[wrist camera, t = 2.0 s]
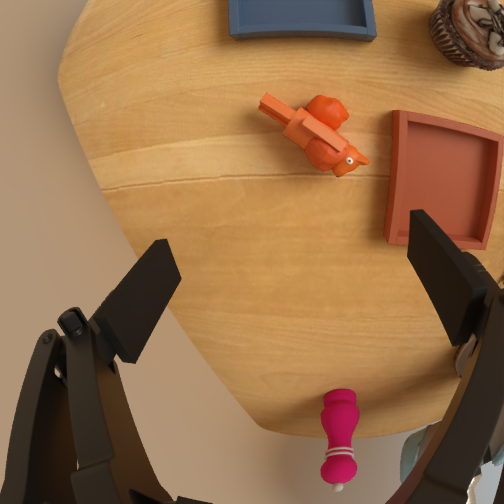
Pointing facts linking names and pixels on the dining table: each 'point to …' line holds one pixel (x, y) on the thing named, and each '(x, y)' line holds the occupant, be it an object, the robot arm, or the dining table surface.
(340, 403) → the pepper mill
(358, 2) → the blue tray
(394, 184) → the terracotta tray
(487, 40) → the cupcake
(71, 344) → the robot arm
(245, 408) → the dining table surface
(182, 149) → the dining table surface
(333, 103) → the orange toy bird
